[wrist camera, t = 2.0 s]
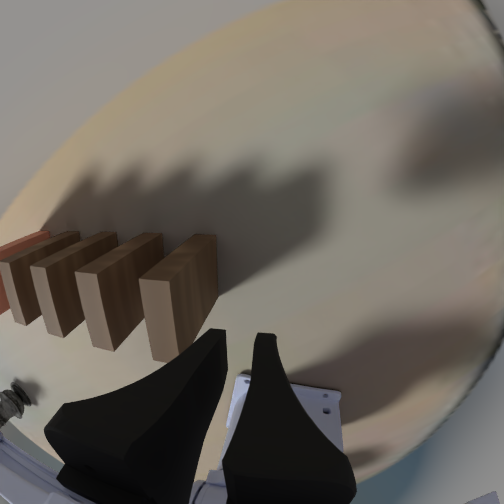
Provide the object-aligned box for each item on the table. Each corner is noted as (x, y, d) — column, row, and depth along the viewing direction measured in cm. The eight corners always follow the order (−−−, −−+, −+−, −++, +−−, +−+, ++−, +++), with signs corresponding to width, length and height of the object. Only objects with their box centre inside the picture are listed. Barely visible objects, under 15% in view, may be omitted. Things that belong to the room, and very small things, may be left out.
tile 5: (49, 231, 23) (-17, 259, 15) (57, 278, 25) (-1, 315, 17) (39, 231, 23) (-25, 257, 15) (47, 276, 25) (-10, 312, 17)
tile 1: (216, 235, 21) (169, 281, 13) (218, 296, 22) (180, 365, 14) (194, 234, 21) (138, 278, 13) (198, 295, 23) (153, 360, 15)
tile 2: (162, 233, 21) (96, 274, 14) (167, 292, 23) (114, 351, 15) (143, 232, 22) (74, 271, 14) (150, 290, 23) (93, 346, 15)
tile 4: (78, 231, 23) (8, 262, 15) (87, 282, 24) (26, 326, 16) (66, 231, 23) (-2, 261, 15) (75, 280, 24) (14, 321, 16)
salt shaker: (37, 409, 35) (1, 451, 24) (21, 404, 36) (-13, 441, 25) (19, 383, 33) (-21, 424, 22) (5, 379, 35) (-32, 415, 23)
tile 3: (116, 232, 22) (44, 267, 14) (123, 287, 23) (63, 338, 16) (101, 231, 22) (29, 265, 14) (109, 285, 24) (48, 333, 16)
